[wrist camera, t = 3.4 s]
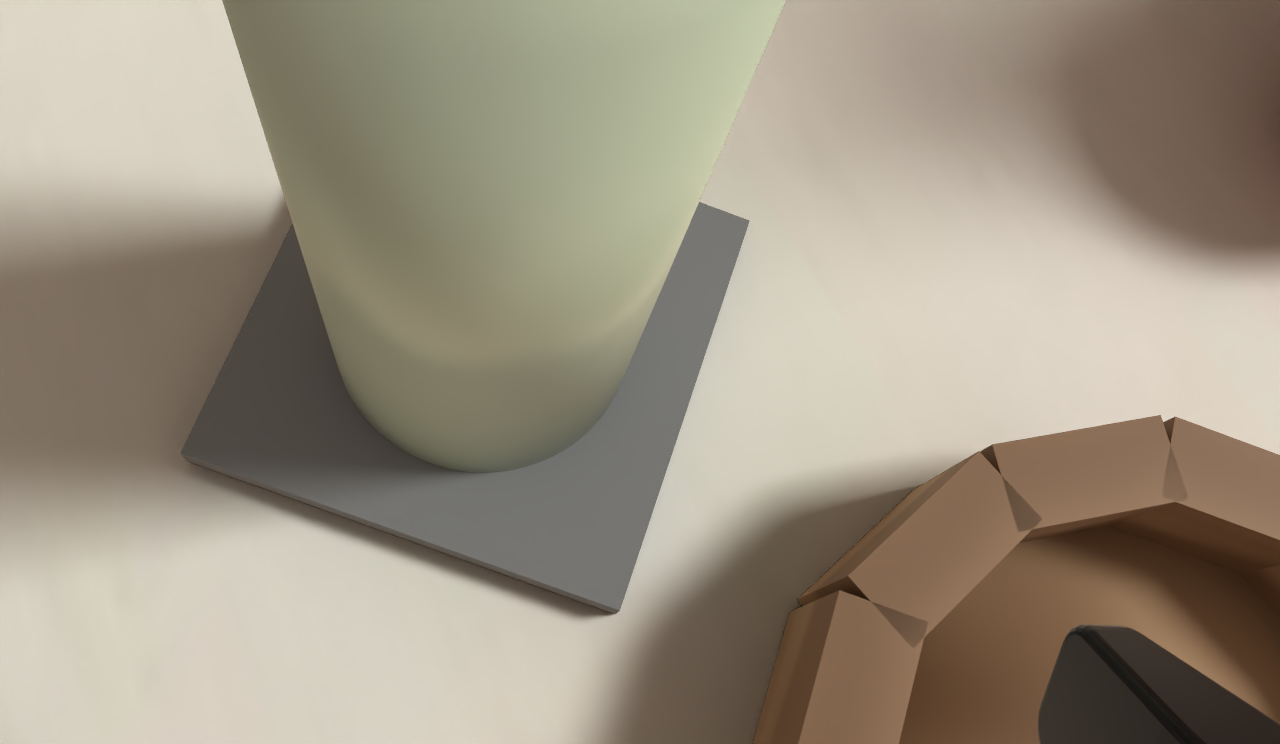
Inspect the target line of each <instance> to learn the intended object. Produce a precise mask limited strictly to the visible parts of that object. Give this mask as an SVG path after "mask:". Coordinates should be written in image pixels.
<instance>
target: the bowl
mask: <svg viewBox="0 0 1280 744" xmlns="http://www.w3.org/2000/svg"><path fill="white" fill-rule="evenodd" d="M797 600H798V601H799V602H800V603H801V604H802V607H800V608H797V609H795V610H793V611H791V612H789V616H788V619H787V623H786V626H785V630H784V633H783V637H782V640H781V644H780V648H779V651H778V655H777V658H776V662H775V665H774V669H773V672H772V676H771V679H770V683H769V687H768V690H767V694H766V697H765V701H764V704H763V708H762V711H761V715H760V719H759V722H758V726H757V729H756V733H755V736H754V740H753V743H752V744H1040V741H1039V735H1038V715H1039V709H1040V705H1041V702H1042V699H1043V697H1044V694H1045V691H1046V688H1047V685H1048V683H1049V680H1050V677H1051V674H1052V671H1053V669H1054V666H1055V663H1056V660H1057V657H1058V654H1059V652H1060V649H1061V646H1062V643H1063V641H1064V639H1065V637H1066V635H1067V634H1068V632H1069V631H1070V630H1071V629H1072V628H1074V627H1076V626H1078V625H1081V624H1093V625H1118V626H1126V627H1130V628H1133V629H1135V630H1136V631H1138V632H1140V633H1141V634H1143V635H1144V636H1146V637H1147V638H1149V639H1150V640H1152V641H1153V642H1155V643H1156V644H1158V645H1160V646H1161V647H1163V648H1164V649H1166V650H1167V651H1169V652H1170V653H1172V654H1173V655H1175V656H1176V657H1178V658H1179V659H1181V660H1183V661H1184V662H1186V663H1187V664H1189V665H1190V666H1192V667H1193V668H1195V669H1196V670H1198V671H1199V672H1201V673H1202V674H1204V675H1206V676H1207V677H1209V678H1210V679H1212V680H1213V681H1215V682H1216V683H1218V684H1219V685H1221V686H1222V687H1224V688H1225V689H1227V690H1229V691H1230V692H1232V693H1233V694H1235V695H1236V696H1238V697H1239V698H1241V699H1242V700H1244V701H1245V702H1247V703H1248V704H1250V705H1251V706H1253V707H1255V708H1256V709H1258V710H1259V711H1261V712H1262V713H1264V714H1265V715H1267V716H1268V717H1270V718H1271V719H1273V720H1274V721H1276V722H1278V723H1279V724H1280V455H1278V454H1275V453H1272V452H1270V451H1267V450H1264V449H1261V448H1259V447H1256V446H1253V445H1251V444H1248V443H1245V442H1242V441H1240V440H1237V439H1234V438H1232V437H1229V436H1226V435H1223V434H1221V433H1218V432H1215V431H1213V430H1210V429H1207V428H1205V427H1202V426H1199V425H1196V424H1194V423H1191V422H1188V421H1186V420H1183V419H1180V418H1177V417H1174V418H1172V419H1169V420H1167V421H1165V422H1163V421H1162V418H1161V415H1159V416H1153V417H1147V418H1142V419H1136V420H1130V421H1124V422H1119V423H1113V424H1107V425H1102V426H1096V427H1090V428H1084V429H1079V430H1073V431H1067V432H1062V433H1056V434H1050V435H1044V436H1039V437H1033V438H1027V439H1022V440H1016V441H1010V442H1004V443H999V444H993V445H991V446H989V447H987V448H986V449H984V450H982V451H981V452H977V453H975V454H974V455H972V456H970V457H968V458H967V459H965V460H963V461H962V462H960V463H958V464H956V465H955V466H953V467H951V468H950V469H948V470H946V471H945V472H943V473H941V474H939V475H938V476H936V477H934V478H933V479H931V480H929V481H927V482H926V483H924V484H922V485H921V486H919V487H917V488H916V489H914V490H913V491H912V492H911V493H910V494H909V495H908V496H906V497H905V498H904V499H903V500H902V501H901V502H900V503H899V504H898V505H897V506H896V507H895V508H894V509H893V510H892V511H891V512H889V513H888V514H887V515H886V516H885V517H884V518H883V519H882V520H881V521H880V522H879V523H878V524H877V525H876V526H875V527H873V528H872V529H871V530H870V531H869V532H868V533H867V534H866V535H865V536H864V537H863V538H862V539H861V540H860V541H859V542H858V543H856V544H855V545H854V546H853V547H852V548H851V549H850V550H849V551H848V552H847V553H846V554H845V555H844V556H843V557H842V558H841V559H839V560H838V561H837V562H836V563H835V564H834V565H833V566H832V567H831V568H830V569H829V570H828V571H827V572H826V573H825V574H824V575H822V576H821V577H820V578H819V579H818V580H817V581H816V582H815V583H814V584H813V585H812V586H811V587H810V588H809V589H808V590H806V591H805V592H804V593H803V594H802V595H801V596H800V597H799V598H798V599H797Z"/></svg>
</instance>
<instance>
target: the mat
mask: <svg viewBox="0 0 1280 744" xmlns="http://www.w3.org/2000/svg"><path fill="white" fill-rule="evenodd" d="M748 224H749V220H746V219H743V218H741V217H738V216H735V215H733V214H730V213H727V212H725V211H722V210H719V209H716V208H714V207H711V206H708V205H706V204H703V203H700V202H699V203H698V206H697V208H696V210H695V213H694V215H693V217H692V219H691V222H690V224H689V226H688V229H687V231H686V233H685V236H684V238H683V240H682V243H681V245H680V247H679V250H678V252H677V254H676V257H675V259H674V261H673V264H672V266H671V268H670V271H669V273H668V275H667V277H666V280H665V282H664V284H663V287H662V289H661V291H660V294H659V296H658V298H657V301H656V303H655V305H654V308H653V310H652V312H651V315H650V317H649V319H648V322H647V324H646V326H645V328H644V331H643V333H642V335H641V338H640V340H639V342H638V345H637V347H636V349H635V352H634V354H633V356H632V359H631V361H630V363H629V366H628V368H627V370H626V373H625V375H624V377H623V380H622V382H621V384H620V386H619V389H618V391H617V393H616V396H615V397H614V399H613V401H612V402H611V404H610V405H609V407H608V409H607V410H606V412H605V413H604V414H603V416H602V417H601V418H600V419H599V421H598V422H597V423H596V424H595V425H594V427H592V428H591V429H590V430H589V431H588V432H587V433H586V434H585V435H584V436H583V437H582V438H581V439H579V440H578V441H577V442H575V443H574V444H572V445H571V446H570V447H568V448H567V449H565V450H564V451H562V452H560V453H558V454H556V455H554V456H552V457H551V458H549V459H547V460H544V461H541V462H538V463H536V464H533V465H530V466H527V467H523V468H519V469H514V470H510V471H501V472H491V473H483V472H465V471H459V470H452V469H447V468H444V467H440V466H437V465H433V464H430V463H428V462H425V461H423V460H421V459H418V458H416V457H414V456H411V455H410V454H408V453H406V452H405V451H403V450H401V449H400V448H398V447H396V446H395V445H393V444H392V443H391V442H390V441H388V440H387V439H386V438H385V437H383V436H382V435H381V434H380V433H378V432H377V431H376V430H375V428H374V427H373V426H372V425H371V424H370V423H369V422H368V421H367V420H366V419H365V418H364V416H363V415H362V414H361V412H360V411H359V410H358V408H357V407H356V405H355V404H354V403H353V401H352V399H351V397H350V395H349V393H348V391H347V389H346V388H345V385H344V383H343V380H342V377H341V374H340V372H339V369H338V366H337V363H336V359H335V356H334V353H333V350H332V347H331V343H330V340H329V337H328V334H327V331H326V328H325V324H324V321H323V318H322V315H321V312H320V309H319V305H318V302H317V299H316V296H315V293H314V289H313V286H312V283H311V280H310V277H309V274H308V270H307V267H306V264H305V261H304V258H303V255H302V251H301V248H300V245H299V242H298V239H297V235H296V232H295V229H294V226H293V224H292V226H291V228H290V230H289V232H288V234H287V236H286V238H285V240H284V242H283V244H282V247H281V249H280V251H279V253H278V255H277V257H276V259H275V261H274V263H273V265H272V267H271V269H270V271H269V273H268V275H267V277H266V279H265V281H264V283H263V285H262V288H261V290H260V292H259V294H258V296H257V298H256V300H255V302H254V304H253V306H252V308H251V310H250V312H249V314H248V316H247V318H246V320H245V322H244V324H243V326H242V329H241V331H240V333H239V335H238V337H237V339H236V341H235V343H234V345H233V347H232V349H231V351H230V353H229V355H228V357H227V359H226V361H225V363H224V365H223V367H222V370H221V372H220V374H219V376H218V378H217V380H216V382H215V384H214V386H213V388H212V390H211V392H210V394H209V396H208V398H207V400H206V402H205V404H204V406H203V408H202V411H201V413H200V415H199V417H198V419H197V421H196V423H195V425H194V427H193V429H192V431H191V433H190V435H189V437H188V439H187V441H186V443H185V445H184V447H183V449H182V451H181V454H182V455H183V457H184V458H185V459H186V460H187V461H188V462H191V463H193V464H196V465H199V466H202V467H205V468H207V469H210V470H213V471H216V472H219V473H221V474H224V475H227V476H230V477H233V478H235V479H238V480H241V481H244V482H247V483H249V484H252V485H255V486H258V487H261V488H263V489H266V490H269V491H272V492H275V493H277V494H280V495H283V496H286V497H289V498H291V499H294V500H297V501H300V502H303V503H305V504H308V505H311V506H314V507H317V508H319V509H322V510H325V511H328V512H330V513H333V514H336V515H339V516H342V517H344V518H347V519H350V520H353V521H356V522H358V523H361V524H364V525H367V526H370V527H372V528H375V529H378V530H381V531H384V532H386V533H389V534H392V535H395V536H398V537H400V538H403V539H406V540H409V541H412V542H414V543H417V544H420V545H423V546H426V547H428V548H431V549H434V550H437V551H440V552H442V553H445V554H448V555H451V556H454V557H456V558H459V559H462V560H465V561H467V562H470V563H473V564H476V565H479V566H481V567H484V568H487V569H490V570H493V571H495V572H498V573H501V574H504V575H507V576H509V577H512V578H515V579H518V580H521V581H523V582H526V583H529V584H532V585H535V586H537V587H540V588H543V589H546V590H549V591H551V592H554V593H557V594H560V595H563V596H565V597H568V598H571V599H574V600H577V601H579V602H582V603H585V604H588V605H591V606H593V607H596V608H599V609H602V610H604V611H607V612H610V613H613V614H616V613H618V612H619V611H620V608H621V605H622V602H623V599H624V596H625V593H626V590H627V587H628V584H629V581H630V578H631V575H632V572H633V569H634V566H635V563H636V560H637V557H638V554H639V551H640V548H641V545H642V542H643V539H644V536H645V533H646V530H647V527H648V524H649V521H650V518H651V515H652V512H653V509H654V506H655V503H656V500H657V497H658V494H659V491H660V488H661V485H662V482H663V479H664V476H665V473H666V470H667V467H668V464H669V461H670V458H671V455H672V452H673V449H674V446H675V443H676V440H677V437H678V434H679V431H680V428H681V425H682V422H683V419H684V416H685V413H686V410H687V407H688V404H689V401H690V398H691V395H692V392H693V389H694V386H695V383H696V380H697V377H698V374H699V371H700V368H701V365H702V362H703V359H704V356H705V353H706V350H707V347H708V344H709V341H710V338H711V335H712V332H713V329H714V326H715V323H716V320H717V317H718V314H719V311H720V308H721V305H722V302H723V299H724V296H725V293H726V290H727V287H728V284H729V281H730V278H731V275H732V272H733V269H734V266H735V263H736V260H737V257H738V254H739V251H740V248H741V245H742V242H743V239H744V236H745V233H746V230H747V227H748Z"/></svg>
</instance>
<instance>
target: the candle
mask: <svg viewBox="0 0 1280 744" xmlns="http://www.w3.org/2000/svg"><path fill="white" fill-rule="evenodd" d="M785 1H786V0H223V4H224V7H225V10H226V13H227V16H228V20H229V23H230V26H231V29H232V32H233V35H234V39H235V42H236V45H237V48H238V51H239V54H240V58H241V61H242V64H243V67H244V70H245V74H246V77H247V80H248V83H249V86H250V89H251V93H252V96H253V99H254V102H255V105H256V108H257V112H258V115H259V118H260V121H261V124H262V128H263V131H264V134H265V137H266V140H267V143H268V147H269V150H270V153H271V156H272V159H273V162H274V166H275V169H276V172H277V175H278V178H279V182H280V185H281V188H282V191H283V194H284V197H285V201H286V204H287V207H288V210H289V213H290V216H291V220H292V223H293V226H294V229H295V232H296V235H297V239H298V242H299V245H300V248H301V251H302V255H303V258H304V261H305V264H306V267H307V270H308V274H309V277H310V280H311V283H312V286H313V289H314V293H315V296H316V299H317V302H318V305H319V309H320V312H321V315H322V318H323V321H324V324H325V328H326V331H327V334H328V337H329V340H330V343H331V347H332V350H333V353H334V356H335V359H336V363H337V366H338V369H339V372H340V374H341V377H342V380H343V383H344V385H345V388H346V389H347V391H348V393H349V395H350V397H351V399H352V401H353V403H354V404H355V405H356V407H357V408H358V410H359V411H360V412H361V414H362V415H363V416H364V418H365V419H366V420H367V421H368V422H369V423H370V424H371V425H372V426H373V427H374V428H375V430H376V431H377V432H378V433H380V434H381V435H382V436H383V437H385V438H386V439H387V440H388V441H390V442H391V443H392V444H393V445H395V446H396V447H398V448H400V449H401V450H403V451H405V452H406V453H408V454H410V455H411V456H414V457H416V458H418V459H421V460H423V461H425V462H428V463H430V464H433V465H437V466H440V467H444V468H447V469H452V470H459V471H465V472H483V473H491V472H501V471H510V470H514V469H519V468H523V467H527V466H530V465H533V464H536V463H538V462H541V461H544V460H547V459H549V458H551V457H552V456H554V455H556V454H558V453H560V452H562V451H564V450H565V449H567V448H568V447H570V446H571V445H572V444H574V443H575V442H577V441H578V440H579V439H581V438H582V437H583V436H584V435H585V434H586V433H587V432H588V431H589V430H590V429H591V428H592V427H594V425H595V424H596V423H597V422H598V421H599V419H600V418H601V417H602V416H603V414H604V413H605V412H606V410H607V409H608V407H609V405H610V404H611V402H612V401H613V399H614V397H615V396H616V393H617V391H618V389H619V386H620V384H621V382H622V380H623V377H624V375H625V373H626V370H627V368H628V366H629V363H630V361H631V359H632V356H633V354H634V352H635V349H636V347H637V345H638V342H639V340H640V338H641V335H642V333H643V331H644V328H645V326H646V324H647V322H648V319H649V317H650V315H651V312H652V310H653V308H654V305H655V303H656V301H657V298H658V296H659V294H660V291H661V289H662V287H663V284H664V282H665V280H666V277H667V275H668V273H669V271H670V268H671V266H672V264H673V261H674V259H675V257H676V254H677V252H678V250H679V247H680V245H681V243H682V240H683V238H684V236H685V233H686V231H687V229H688V226H689V224H690V222H691V219H692V217H693V215H694V213H695V210H696V208H697V206H698V203H699V201H700V199H701V196H702V194H703V192H704V189H705V187H706V185H707V182H708V180H709V178H710V175H711V173H712V171H713V168H714V166H715V164H716V161H717V159H718V157H719V155H720V152H721V150H722V148H723V145H724V143H725V141H726V138H727V136H728V134H729V131H730V129H731V127H732V124H733V122H734V120H735V117H736V115H737V113H738V110H739V108H740V106H741V103H742V101H743V99H744V97H745V94H746V92H747V90H748V87H749V85H750V83H751V80H752V78H753V76H754V73H755V71H756V69H757V66H758V64H759V62H760V59H761V57H762V55H763V52H764V50H765V48H766V45H767V43H768V41H769V39H770V36H771V34H772V32H773V29H774V27H775V25H776V22H777V20H778V18H779V15H780V13H781V11H782V8H783V6H784V4H785Z"/></svg>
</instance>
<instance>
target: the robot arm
mask: <svg viewBox="0 0 1280 744" xmlns="http://www.w3.org/2000/svg"><path fill="white" fill-rule="evenodd" d="M1038 735H1039V741H1040V744H1280V724H1279V723H1278V722H1276V721H1274V720H1273V719H1271V718H1270V717H1268V716H1267V715H1265V714H1264V713H1262V712H1261V711H1259V710H1258V709H1256V708H1255V707H1253V706H1251V705H1250V704H1248V703H1247V702H1245V701H1244V700H1242V699H1241V698H1239V697H1238V696H1236V695H1235V694H1233V693H1232V692H1230V691H1229V690H1227V689H1225V688H1224V687H1222V686H1221V685H1219V684H1218V683H1216V682H1215V681H1213V680H1212V679H1210V678H1209V677H1207V676H1206V675H1204V674H1202V673H1201V672H1199V671H1198V670H1196V669H1195V668H1193V667H1192V666H1190V665H1189V664H1187V663H1186V662H1184V661H1183V660H1181V659H1179V658H1178V657H1176V656H1175V655H1173V654H1172V653H1170V652H1169V651H1167V650H1166V649H1164V648H1163V647H1161V646H1160V645H1158V644H1156V643H1155V642H1153V641H1152V640H1150V639H1149V638H1147V637H1146V636H1144V635H1143V634H1141V633H1140V632H1138V631H1136V630H1135V629H1133V628H1130V627H1126V626H1118V625H1093V624H1081V625H1078V626H1076V627H1074V628H1072V629H1071V630H1070V631H1069V632H1068V634H1067V635H1066V637H1065V639H1064V641H1063V643H1062V646H1061V649H1060V652H1059V654H1058V657H1057V660H1056V663H1055V666H1054V669H1053V671H1052V674H1051V677H1050V680H1049V683H1048V685H1047V688H1046V691H1045V694H1044V697H1043V699H1042V702H1041V705H1040V709H1039V715H1038Z"/></svg>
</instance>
